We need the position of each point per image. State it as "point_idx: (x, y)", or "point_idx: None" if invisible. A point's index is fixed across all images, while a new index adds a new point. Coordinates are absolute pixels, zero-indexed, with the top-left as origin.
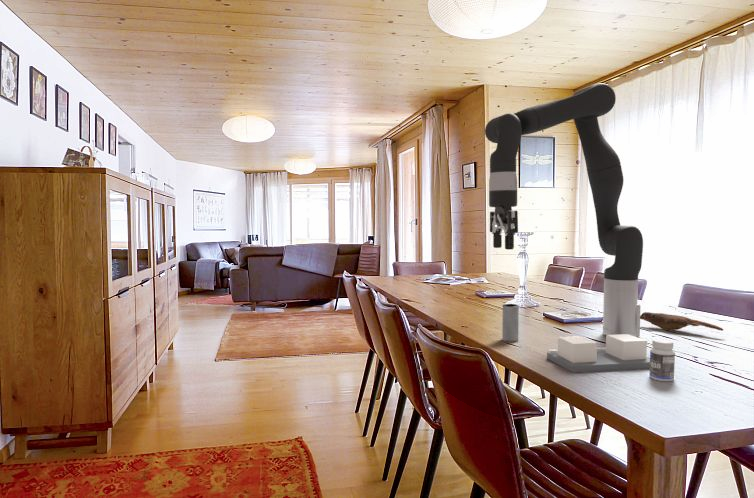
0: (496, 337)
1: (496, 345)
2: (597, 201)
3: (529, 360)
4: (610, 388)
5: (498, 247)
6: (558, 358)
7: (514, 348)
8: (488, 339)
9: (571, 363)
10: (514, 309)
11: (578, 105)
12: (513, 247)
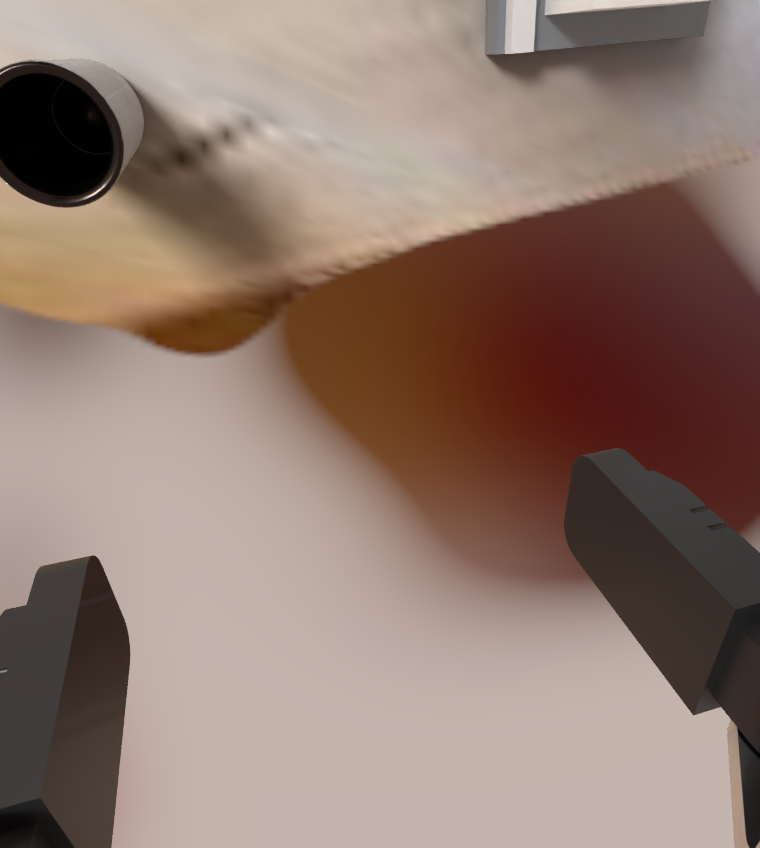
0: None
1: (233, 235)
2: None
3: (498, 158)
4: None
5: (108, 590)
6: (595, 44)
7: (294, 157)
8: (96, 245)
9: (673, 20)
10: (122, 123)
11: None
12: (629, 457)
